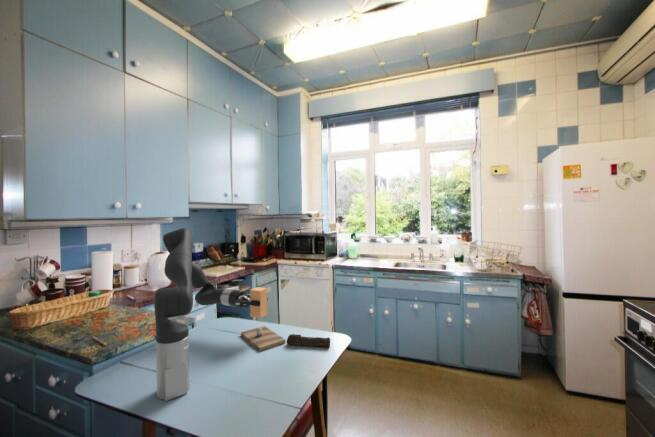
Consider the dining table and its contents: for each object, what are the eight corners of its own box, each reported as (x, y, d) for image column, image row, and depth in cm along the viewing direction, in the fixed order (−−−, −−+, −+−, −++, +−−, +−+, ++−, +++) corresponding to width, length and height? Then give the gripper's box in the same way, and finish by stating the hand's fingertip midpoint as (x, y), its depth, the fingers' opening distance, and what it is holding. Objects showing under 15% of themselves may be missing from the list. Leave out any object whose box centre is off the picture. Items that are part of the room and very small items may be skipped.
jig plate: (285, 342, 124) (285, 331, 124) (260, 351, 116) (259, 339, 116) (264, 328, 139) (264, 318, 139) (240, 335, 132) (240, 324, 132)
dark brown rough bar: (330, 345, 122) (330, 334, 122) (329, 349, 118) (329, 338, 118) (288, 342, 125) (288, 331, 125) (286, 346, 121) (285, 335, 121)
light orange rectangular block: (267, 314, 129) (267, 288, 129) (260, 318, 124) (260, 291, 124) (257, 312, 131) (257, 287, 131) (250, 316, 126) (250, 290, 126)
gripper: (222, 294, 126) (254, 298, 120) (242, 286, 139) (272, 289, 133) (222, 310, 126) (254, 315, 120) (242, 301, 139) (272, 305, 133)
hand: (263, 301), depth 127 cm, fingers closed on light orange rectangular block, 5 cm apart
